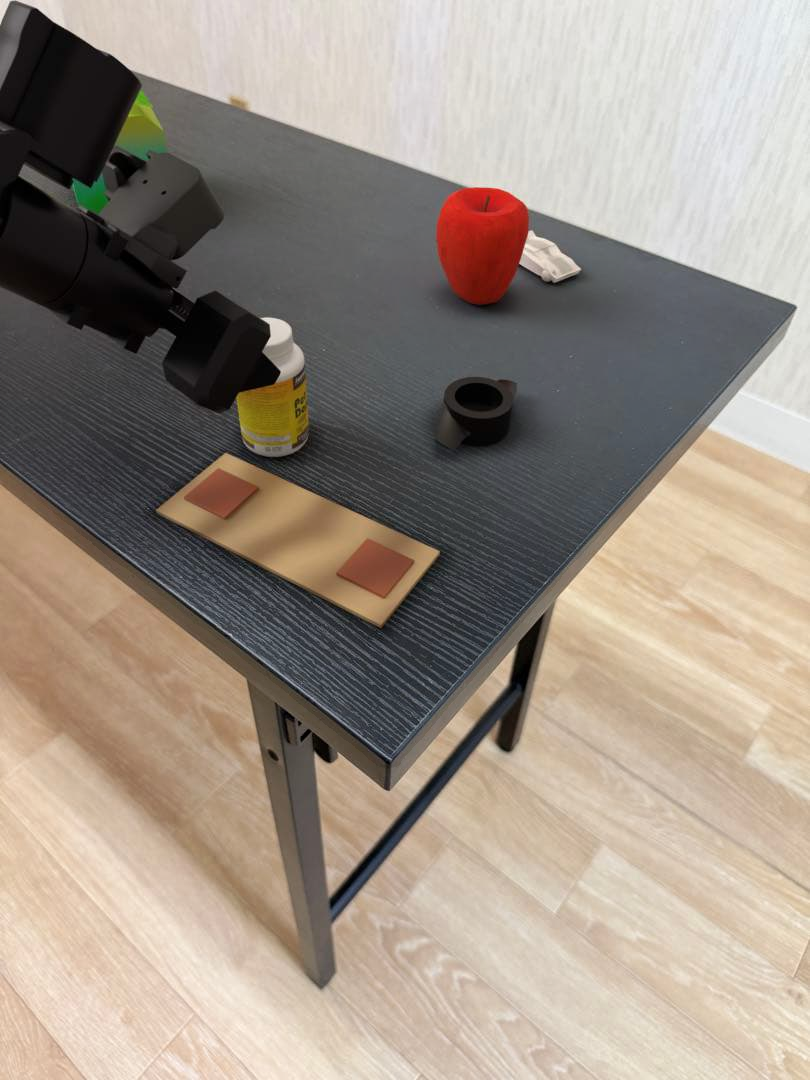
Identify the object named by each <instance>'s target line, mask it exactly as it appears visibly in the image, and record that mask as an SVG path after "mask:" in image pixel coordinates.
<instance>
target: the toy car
mask: <svg viewBox="0 0 810 1080" xmlns="http://www.w3.org/2000/svg"><path fill="white" fill-rule="evenodd" d="M519 265H521V266H522V267H523V268H525V269H527V270H529V271H530V272H532V273H534V274H535V275H537V276H540V277H541V279H542V281H544V282H547V283H549V282H552V283H553V284H555V283H558V282H560V281H563V280H566V279H568V278H570V277H573V276H575V275H577V274H580V272H581V270H582V268H581V267H580V266H578V264H576V262H575V261H574V260H573V259H572V257H569V256H568V255H566V254H564V253H563V252H562V251H561V250H560V248H559V247H558V246H557V244H556V243H555V242H552V241H550V240H548V239H546V238H544V237H539V236H537V235H536V234H535V232H534V231H533V230H532V229H531V230H529V231H528V236H527V239H526V243H525V246H524V250H523V253H522V257H521V260H520V263H519Z"/></svg>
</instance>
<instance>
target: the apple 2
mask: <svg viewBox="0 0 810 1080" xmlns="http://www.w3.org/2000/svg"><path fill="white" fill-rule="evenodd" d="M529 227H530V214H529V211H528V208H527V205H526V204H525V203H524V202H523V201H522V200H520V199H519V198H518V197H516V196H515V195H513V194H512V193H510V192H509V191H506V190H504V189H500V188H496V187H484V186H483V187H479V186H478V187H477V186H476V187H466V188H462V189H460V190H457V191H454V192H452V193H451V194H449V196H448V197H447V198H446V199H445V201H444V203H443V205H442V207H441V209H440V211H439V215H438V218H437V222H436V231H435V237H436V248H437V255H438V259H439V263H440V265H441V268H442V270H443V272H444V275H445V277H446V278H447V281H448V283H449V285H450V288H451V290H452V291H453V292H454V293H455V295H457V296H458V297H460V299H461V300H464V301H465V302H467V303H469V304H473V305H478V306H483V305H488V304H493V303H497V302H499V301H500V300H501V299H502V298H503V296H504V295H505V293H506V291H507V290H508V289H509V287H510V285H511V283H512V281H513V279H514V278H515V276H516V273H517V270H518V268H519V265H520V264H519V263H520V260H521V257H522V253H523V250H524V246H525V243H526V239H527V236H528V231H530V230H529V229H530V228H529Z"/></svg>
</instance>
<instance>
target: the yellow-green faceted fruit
mask: <svg viewBox="0 0 810 1080" xmlns="http://www.w3.org/2000/svg"><path fill="white" fill-rule="evenodd" d="M153 107H154V106H153V105H152V103H151V102H150V101H149V99H148V97H147V96H146V94H145V93H144V92H143V90H140V92H139V94H138V96H137V98H136V100H135V102H134V104H133V107H132V109H131V111H130V113H129V115H128V117H127V119H126V121H125V124H124V126H123V128H122V130H121V132H120V134H119V136H118V138H117V141H116V143H115V145H117V146H119V147H121V148H123V149H124V150H126V151H128V152H130V153H132V154H134V155H136V156H138V157H139V158H141V159H144V160H149V158H148V157H147V155H146V153H147V152H148V151H149V150H152V151H153V152H155V153H157V154H158V153H162V152H167V153H169V152H168V147H167V141H166V135H165V131H164V129H163V127H162V125H161V123H160V121H159V120H158V118H157V116H156V114H155V112H154V110H153ZM115 145H114V146H115ZM72 180H73V181H74V182H73V184H72V186H71V187H72V189H73V192H74V195H75V199H76V202H77V206H78V205H79V204H80V205H82V206H84V207H85V208H87V209H89V210H92V211H94V212H96V213H97V214H99V212H100V211H101V210H102V209H103V208H104V207H105V206H106V204H107V202H108V199H107V198H106V196H105V195H104V192H105V191H107V190H106V188H105V184H104V180H103V175H102V172H101V175H100V177H99V179H98V181H97V182H95V181H94V183H93V186H92V188H89V187H87V186H85V185H84V184H82V183H80V182H79V181H77V180H75V179H74V178H73V179H72Z"/></svg>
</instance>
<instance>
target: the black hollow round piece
mask: <svg viewBox="0 0 810 1080" xmlns="http://www.w3.org/2000/svg"><path fill="white" fill-rule="evenodd" d="M517 386H518V382H515V381H513V380H511V379H510V380H509V379H497V380H495V379H492V378H489V377H483V376H467V377H462V378H458V379H456V380H454V381H452V382H451V383H450V384H448V385H447V387H446V388H445V389H444V395H443V404H442V407H441V408H440V412H439V415H438V418H437V421H436V427H435V432H434V438H433V440H434V441H435V442H436V443H438V444H439V445H441V446H442V447H444V448H446V449H448V450H449V451H451V452H455V450H456V449H457V447H458V446H459V445H460V444H463V445H466V446H471V447H488V446H492V445H495V444H497V443H500V442H501V441H502V440H503V439H505V438H506V437H507V435H508V434H509V431H510V426H511V419H512V413H513V407H514V401H515V399H514V397H515V395H516V393H517V388H518V387H517Z"/></svg>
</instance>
